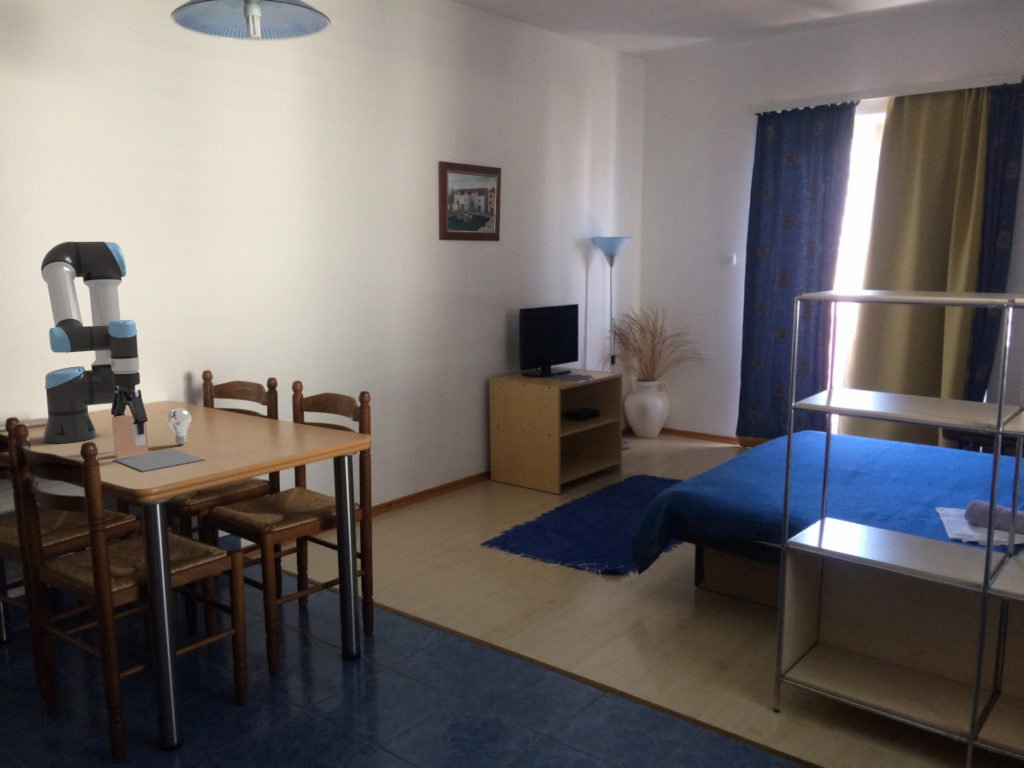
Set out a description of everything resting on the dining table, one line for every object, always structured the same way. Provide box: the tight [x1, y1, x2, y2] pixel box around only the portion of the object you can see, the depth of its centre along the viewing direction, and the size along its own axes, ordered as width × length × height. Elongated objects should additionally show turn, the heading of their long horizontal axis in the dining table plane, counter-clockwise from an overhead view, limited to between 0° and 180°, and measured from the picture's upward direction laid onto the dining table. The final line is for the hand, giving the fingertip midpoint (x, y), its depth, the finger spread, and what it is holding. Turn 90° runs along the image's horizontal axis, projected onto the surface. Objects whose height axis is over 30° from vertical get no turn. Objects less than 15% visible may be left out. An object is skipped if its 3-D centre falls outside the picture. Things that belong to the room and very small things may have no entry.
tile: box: [111, 413, 149, 458], centre depth 248 cm, size 2×9×12 cm, turn 137°
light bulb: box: [167, 407, 192, 446], centre depth 260 cm, size 7×7×12 cm
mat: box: [113, 448, 205, 473], centre depth 241 cm, size 20×18×1 cm
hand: (130, 441), depth 248 cm, fingers open, 13 cm apart
